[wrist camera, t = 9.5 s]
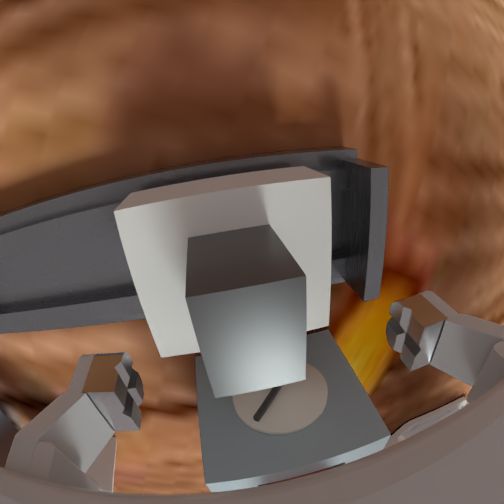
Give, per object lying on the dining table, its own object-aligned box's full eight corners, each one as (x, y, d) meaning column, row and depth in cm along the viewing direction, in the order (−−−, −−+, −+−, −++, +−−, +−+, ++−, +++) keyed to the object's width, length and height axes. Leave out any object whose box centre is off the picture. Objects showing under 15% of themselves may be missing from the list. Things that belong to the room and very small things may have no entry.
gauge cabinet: (328, 319, 21) (395, 425, 12) (322, 392, 24) (363, 480, 15) (191, 346, 20) (200, 477, 11) (215, 415, 23) (231, 514, 14)
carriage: (303, 166, 13) (393, 205, 7) (308, 293, 16) (365, 385, 10) (130, 192, 12) (72, 258, 6) (165, 319, 15) (157, 428, 9)
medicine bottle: (55, 410, 21) (32, 511, 10) (118, 437, 23) (112, 538, 12) (48, 434, 22) (32, 518, 11) (102, 457, 25) (97, 541, 14)
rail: (344, 146, 16) (388, 156, 12) (344, 268, 19) (378, 305, 15) (-48, 233, 12) (-82, 258, 8) (-10, 323, 16) (-33, 358, 12)
